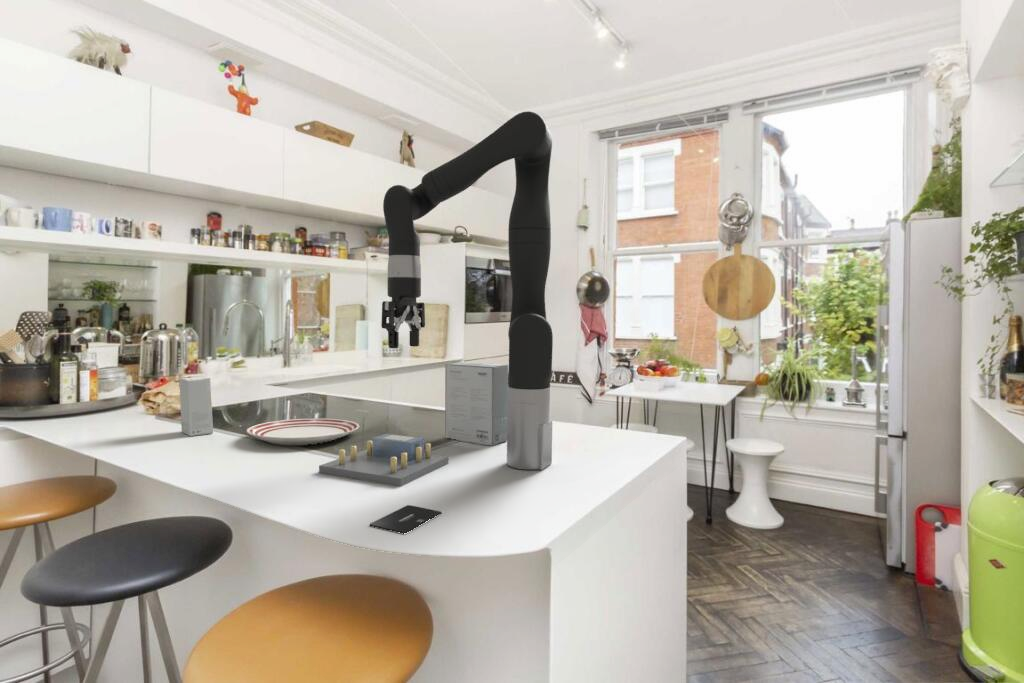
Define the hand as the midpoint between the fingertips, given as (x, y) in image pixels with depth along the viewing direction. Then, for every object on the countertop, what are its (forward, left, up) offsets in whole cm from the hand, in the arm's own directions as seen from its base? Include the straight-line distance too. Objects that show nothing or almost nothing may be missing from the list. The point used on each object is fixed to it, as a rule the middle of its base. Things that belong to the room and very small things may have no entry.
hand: (404, 347), depth 128 cm
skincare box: (+62, +6, -25) cm, 67 cm away
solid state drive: (-23, +33, -26) cm, 48 cm away
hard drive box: (-8, -21, -25) cm, 34 cm away
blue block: (-3, +6, -24) cm, 25 cm away
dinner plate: (+33, -3, -26) cm, 42 cm away
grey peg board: (-3, +11, -25) cm, 27 cm away
